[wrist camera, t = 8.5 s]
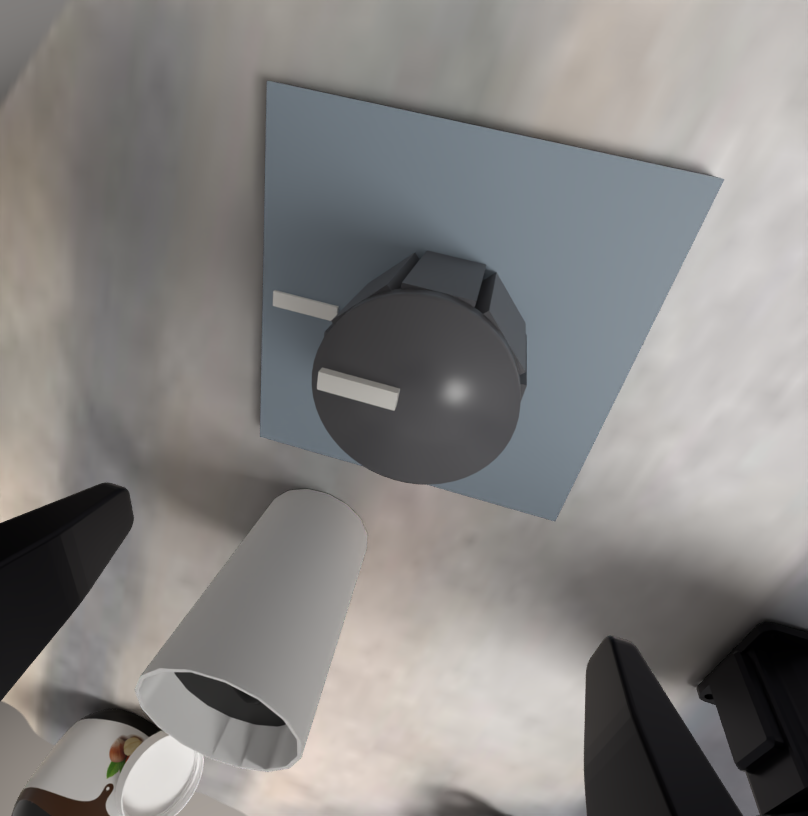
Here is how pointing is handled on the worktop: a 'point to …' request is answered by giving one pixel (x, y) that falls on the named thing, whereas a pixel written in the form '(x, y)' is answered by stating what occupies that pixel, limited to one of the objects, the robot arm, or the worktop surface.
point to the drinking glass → (261, 637)
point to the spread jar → (112, 771)
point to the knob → (424, 371)
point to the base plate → (475, 241)
